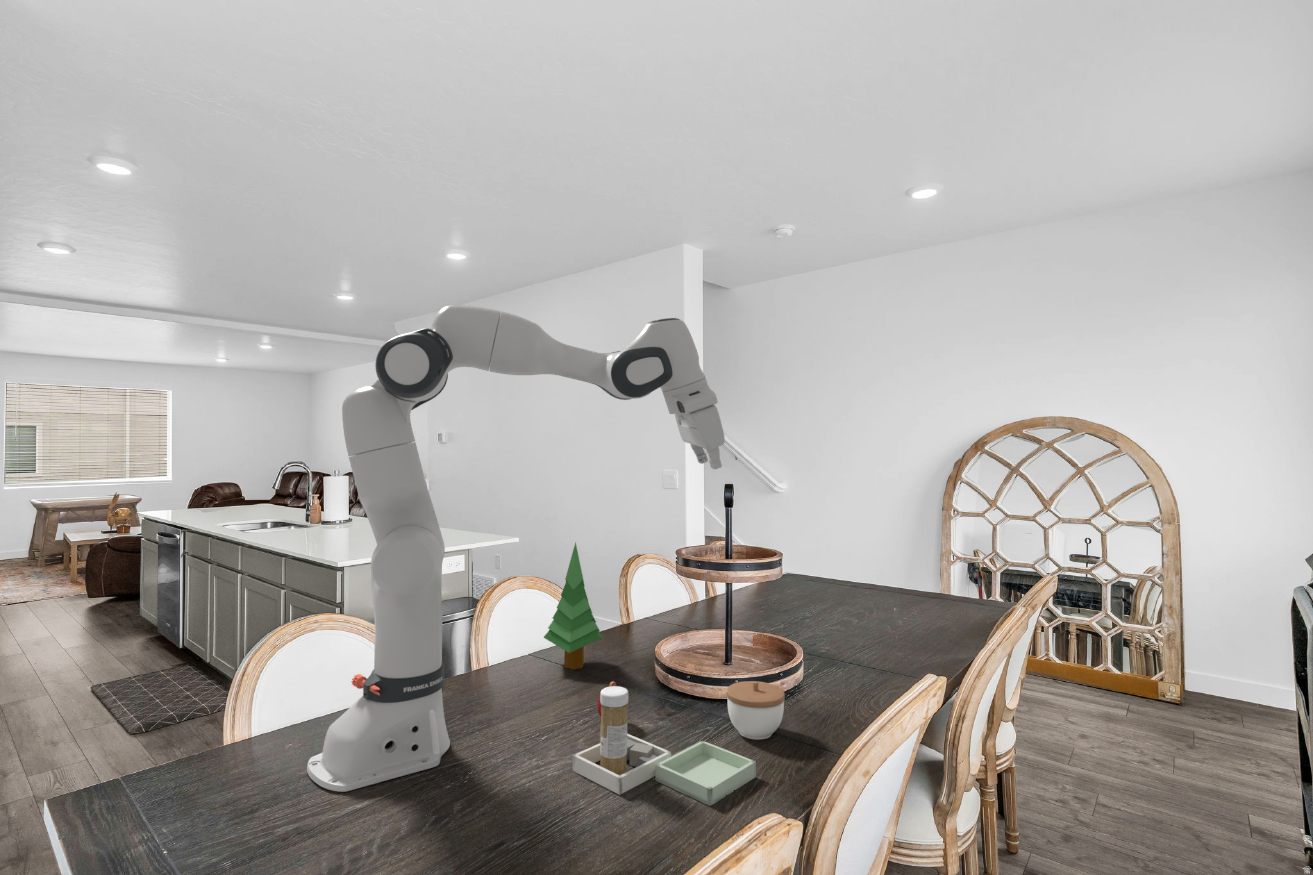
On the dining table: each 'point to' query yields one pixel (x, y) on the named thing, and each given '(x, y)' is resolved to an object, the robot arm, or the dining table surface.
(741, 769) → the green bin
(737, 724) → the lidded jar
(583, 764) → the gravel bin
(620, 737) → the sprinkles bottle
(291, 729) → the dining table surface
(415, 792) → the dining table surface
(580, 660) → the decorative tree
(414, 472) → the robot arm
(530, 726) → the dining table surface
